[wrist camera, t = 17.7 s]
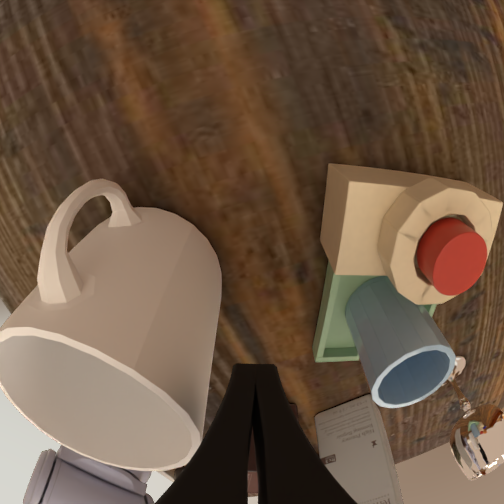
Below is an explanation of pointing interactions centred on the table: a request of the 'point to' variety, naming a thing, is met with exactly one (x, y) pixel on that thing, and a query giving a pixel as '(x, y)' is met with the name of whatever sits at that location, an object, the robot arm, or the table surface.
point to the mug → (117, 335)
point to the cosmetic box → (358, 451)
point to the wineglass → (476, 433)
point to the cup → (396, 344)
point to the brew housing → (396, 222)
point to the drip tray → (338, 318)
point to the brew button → (451, 256)
